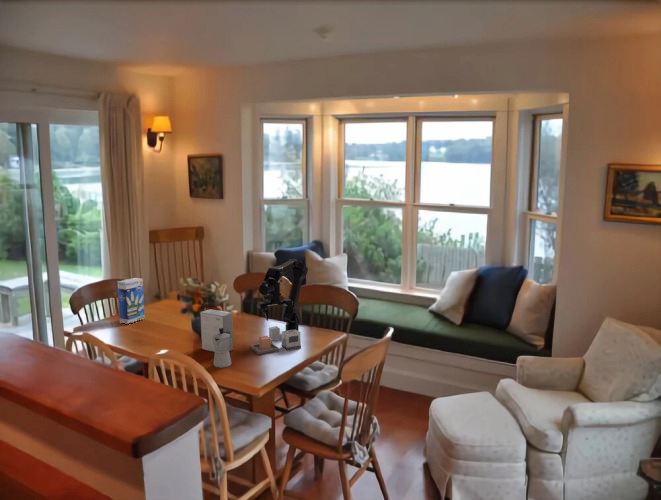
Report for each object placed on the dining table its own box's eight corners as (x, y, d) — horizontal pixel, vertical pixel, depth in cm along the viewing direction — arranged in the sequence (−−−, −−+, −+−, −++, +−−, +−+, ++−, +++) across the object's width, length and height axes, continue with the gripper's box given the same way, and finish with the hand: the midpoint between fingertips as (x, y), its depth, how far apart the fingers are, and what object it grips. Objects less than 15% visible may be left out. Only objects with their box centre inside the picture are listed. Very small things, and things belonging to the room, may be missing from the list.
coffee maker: (224, 370, 264) (223, 333, 261) (207, 368, 267) (206, 331, 264) (238, 359, 278) (237, 324, 275) (222, 357, 281) (221, 322, 278)
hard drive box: (233, 350, 291) (232, 312, 288) (224, 354, 285) (222, 316, 282) (211, 344, 299) (209, 308, 296) (201, 349, 293) (199, 312, 289)
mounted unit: (295, 344, 300) (295, 329, 299) (300, 348, 294) (300, 332, 293) (281, 346, 296) (281, 331, 295) (286, 350, 290) (286, 334, 289)
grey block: (276, 336, 313) (276, 326, 312) (279, 339, 309) (279, 328, 308) (269, 337, 311) (269, 327, 310) (272, 340, 307) (272, 329, 306)
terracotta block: (267, 346, 294) (267, 335, 293) (270, 349, 291) (270, 338, 290) (259, 348, 292) (259, 337, 291) (262, 350, 288) (262, 339, 287)
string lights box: (127, 325, 333) (124, 282, 329) (119, 323, 337) (116, 281, 333) (145, 319, 344) (143, 278, 340) (137, 318, 348) (134, 277, 344)
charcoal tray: (270, 345, 299) (270, 341, 299) (278, 351, 289) (278, 348, 289) (251, 348, 294) (251, 345, 294) (258, 354, 284) (258, 351, 284)
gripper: (284, 286, 313) (285, 313, 315) (253, 289, 304) (253, 317, 307) (293, 290, 303) (293, 318, 306) (260, 294, 294) (261, 323, 297)
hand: (275, 319), depth 304 cm, fingers open, 9 cm apart
